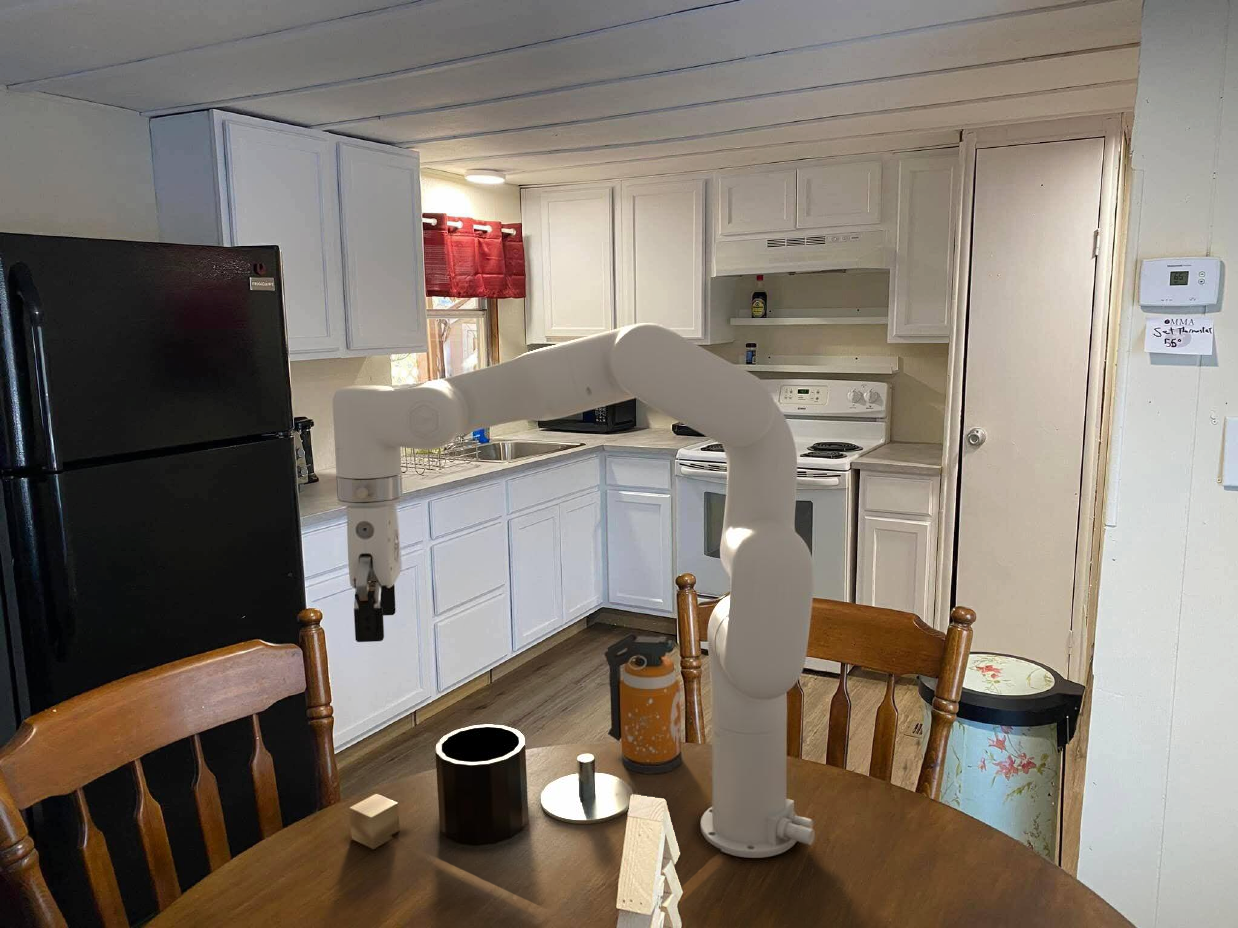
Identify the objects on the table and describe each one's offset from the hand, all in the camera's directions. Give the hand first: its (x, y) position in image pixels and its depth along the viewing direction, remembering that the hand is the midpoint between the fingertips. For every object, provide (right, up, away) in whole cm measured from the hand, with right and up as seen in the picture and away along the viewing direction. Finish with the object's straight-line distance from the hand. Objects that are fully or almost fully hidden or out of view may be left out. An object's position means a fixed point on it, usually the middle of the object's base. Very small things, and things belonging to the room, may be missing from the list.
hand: (376, 627), depth 111 cm
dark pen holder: (+12, -28, +10) cm, 32 cm away
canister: (+33, -25, +26) cm, 50 cm away
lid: (+25, -27, +15) cm, 40 cm away
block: (-2, -29, +8) cm, 30 cm away
